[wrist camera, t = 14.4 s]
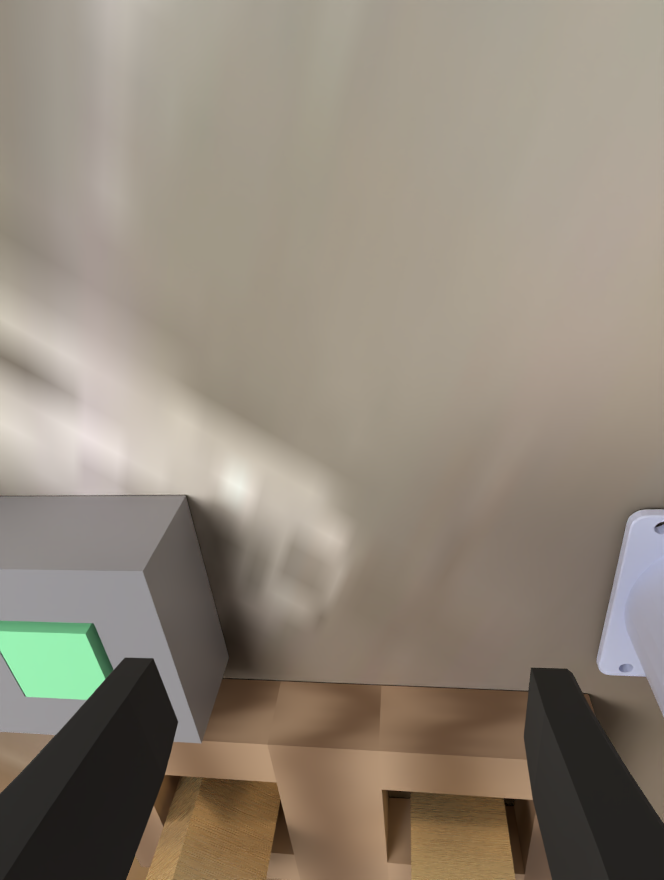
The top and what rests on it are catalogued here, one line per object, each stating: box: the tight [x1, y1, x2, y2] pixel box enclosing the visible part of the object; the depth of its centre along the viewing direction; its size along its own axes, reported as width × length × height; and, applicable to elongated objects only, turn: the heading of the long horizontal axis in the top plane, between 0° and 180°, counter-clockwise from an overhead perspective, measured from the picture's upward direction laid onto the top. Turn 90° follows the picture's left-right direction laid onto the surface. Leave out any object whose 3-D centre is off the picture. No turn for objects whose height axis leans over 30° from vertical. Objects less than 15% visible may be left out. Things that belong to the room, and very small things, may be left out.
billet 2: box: [411, 792, 515, 880], centre depth 25 cm, size 4×4×7 cm
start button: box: [0, 621, 113, 700], centre depth 21 cm, size 4×4×3 cm
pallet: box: [135, 679, 595, 880], centre depth 27 cm, size 22×12×3 cm, turn 95°
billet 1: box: [146, 776, 280, 880], centre depth 26 cm, size 4×4×7 cm
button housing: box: [0, 495, 229, 743], centre depth 22 cm, size 9×9×4 cm
